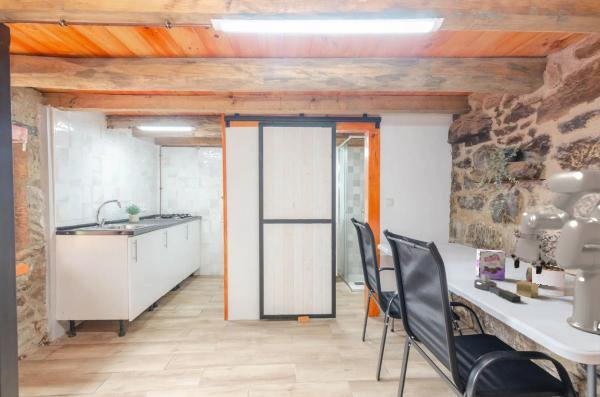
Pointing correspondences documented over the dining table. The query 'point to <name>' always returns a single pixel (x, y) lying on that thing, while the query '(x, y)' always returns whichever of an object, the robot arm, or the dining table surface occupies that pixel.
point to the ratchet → (495, 288)
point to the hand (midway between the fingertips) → (527, 270)
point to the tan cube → (527, 289)
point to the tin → (529, 274)
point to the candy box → (491, 263)
